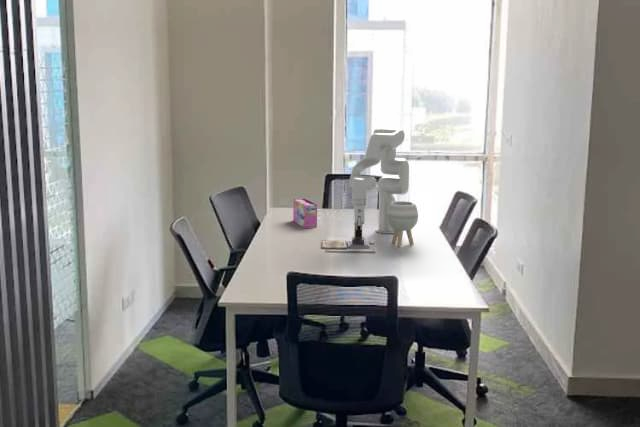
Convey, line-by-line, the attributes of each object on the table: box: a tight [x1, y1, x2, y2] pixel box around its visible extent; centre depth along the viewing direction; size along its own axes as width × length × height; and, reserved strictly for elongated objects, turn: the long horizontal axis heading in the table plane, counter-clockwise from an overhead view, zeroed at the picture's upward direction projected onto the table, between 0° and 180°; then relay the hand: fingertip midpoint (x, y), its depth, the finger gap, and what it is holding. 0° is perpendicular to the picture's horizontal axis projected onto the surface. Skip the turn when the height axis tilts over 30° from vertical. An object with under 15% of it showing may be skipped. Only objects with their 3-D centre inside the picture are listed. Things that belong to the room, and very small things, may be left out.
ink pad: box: [346, 240, 370, 249], centre depth 366 cm, size 11×11×2 cm
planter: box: [387, 200, 419, 248], centre depth 367 cm, size 16×16×22 cm
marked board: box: [321, 239, 348, 250], centre depth 367 cm, size 13×16×1 cm
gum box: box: [292, 198, 318, 229], centre depth 420 cm, size 24×8×14 cm, turn 20°
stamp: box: [351, 221, 365, 244], centre depth 365 cm, size 6×6×13 cm
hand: (358, 235), depth 366 cm, fingers closed on stamp, 4 cm apart
